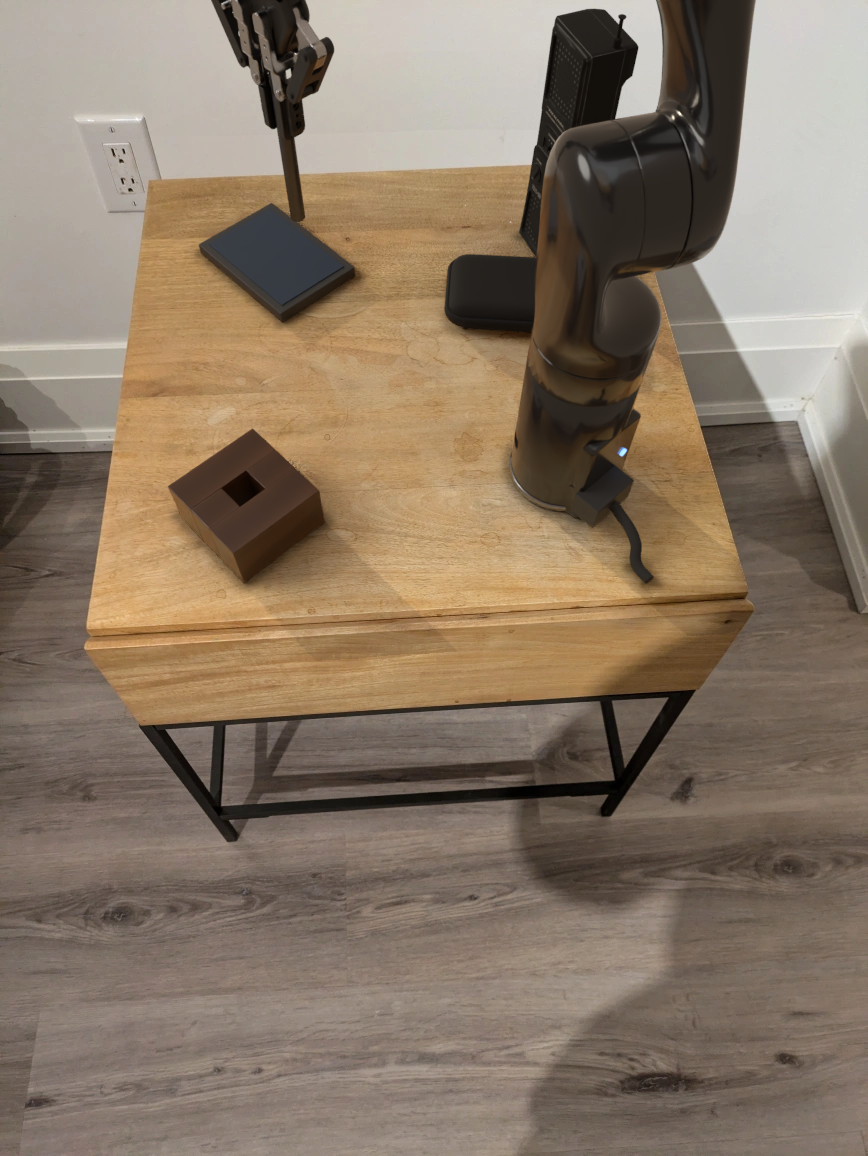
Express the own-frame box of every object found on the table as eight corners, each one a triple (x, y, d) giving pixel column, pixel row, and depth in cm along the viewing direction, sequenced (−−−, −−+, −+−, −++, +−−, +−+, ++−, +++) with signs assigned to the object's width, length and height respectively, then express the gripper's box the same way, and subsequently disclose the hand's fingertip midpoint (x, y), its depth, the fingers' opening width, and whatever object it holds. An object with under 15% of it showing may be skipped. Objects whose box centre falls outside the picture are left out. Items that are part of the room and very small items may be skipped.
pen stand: (325, 522, 75) (319, 490, 71) (244, 583, 72) (232, 553, 68) (262, 462, 78) (252, 427, 74) (181, 518, 75) (167, 486, 71)
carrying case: (442, 342, 86) (587, 351, 85) (442, 319, 83) (592, 328, 83) (448, 268, 91) (585, 277, 91) (449, 245, 88) (590, 253, 88)
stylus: (308, 217, 82) (289, 72, 69) (296, 224, 81) (275, 79, 69) (299, 209, 82) (278, 64, 70) (287, 216, 82) (263, 71, 69)
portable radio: (511, 229, 94) (540, -18, 72) (559, 215, 95) (602, -32, 73) (543, 275, 91) (583, 30, 69) (593, 260, 92) (648, 15, 70)
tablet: (355, 276, 90) (354, 266, 89) (282, 322, 87) (280, 313, 86) (273, 211, 95) (271, 201, 94) (200, 253, 91) (197, 243, 90)
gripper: (148, -126, 59) (203, 111, 75) (269, -49, 55) (302, 187, 70) (234, -159, 62) (270, 77, 77) (356, -88, 57) (369, 148, 73)
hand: (285, 129), depth 74 cm, fingers closed on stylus, 1 cm apart
